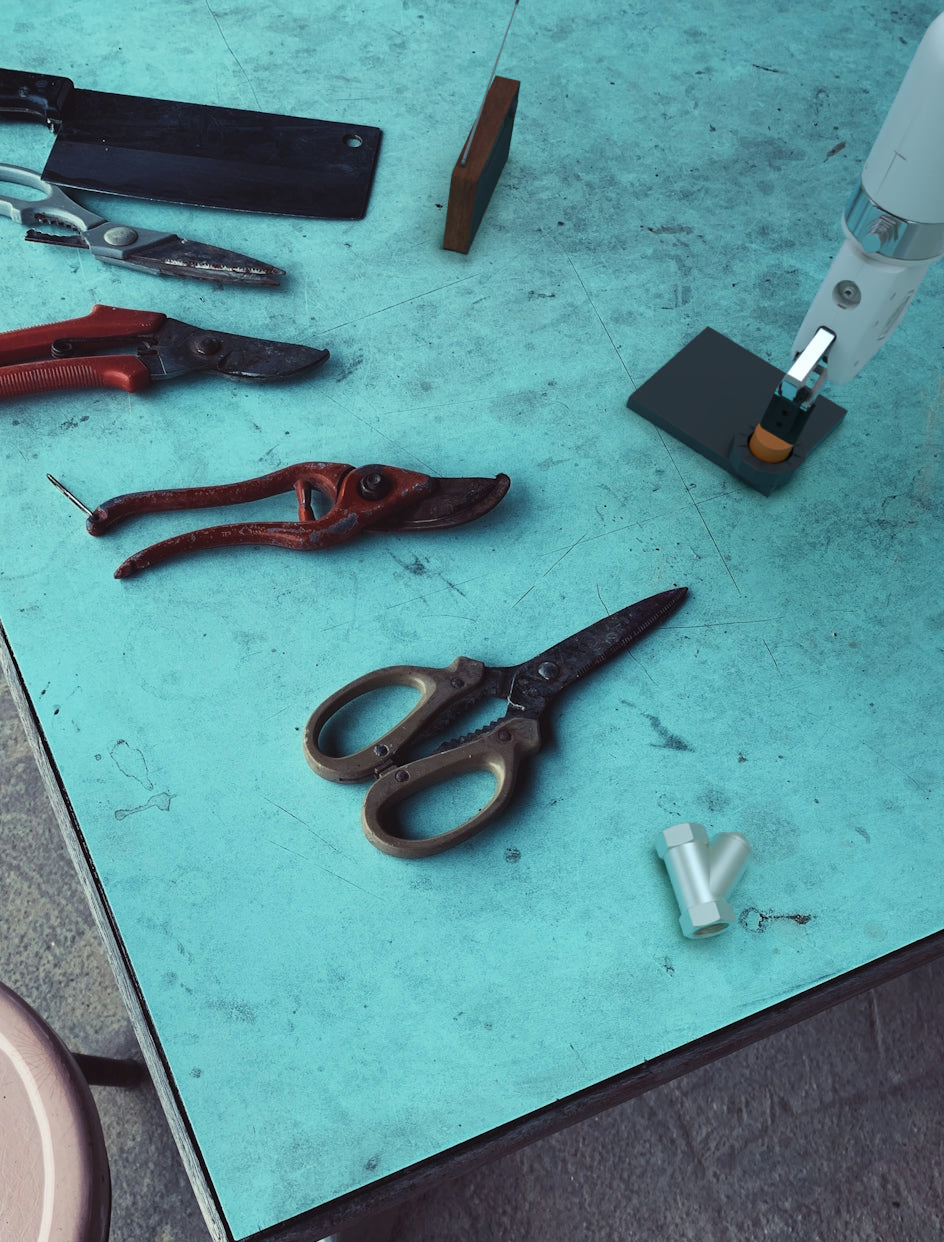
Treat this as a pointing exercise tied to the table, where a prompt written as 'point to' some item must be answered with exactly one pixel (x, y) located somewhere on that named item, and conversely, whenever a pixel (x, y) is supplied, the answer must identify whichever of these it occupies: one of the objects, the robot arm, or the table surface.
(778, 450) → the button
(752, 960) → the table surface
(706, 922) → the pipe fitting
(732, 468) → the scale
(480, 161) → the radio
